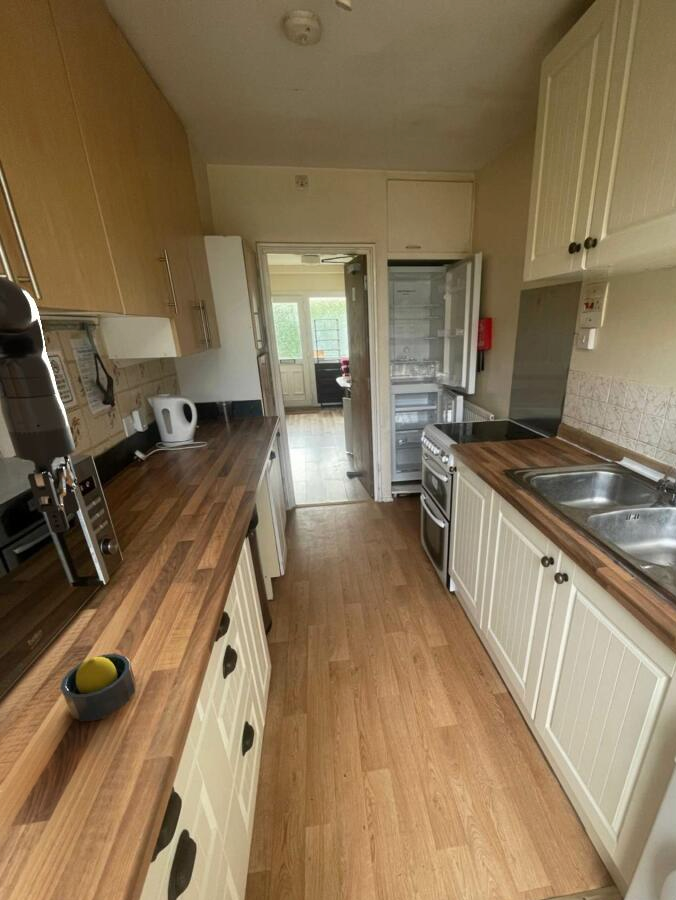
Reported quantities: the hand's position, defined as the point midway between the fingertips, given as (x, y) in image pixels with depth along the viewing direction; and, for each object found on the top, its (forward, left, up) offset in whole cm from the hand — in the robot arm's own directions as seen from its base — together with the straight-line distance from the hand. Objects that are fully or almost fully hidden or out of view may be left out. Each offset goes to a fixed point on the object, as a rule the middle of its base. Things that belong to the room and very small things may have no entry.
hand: (67, 520), depth 72 cm
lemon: (+7, -13, -27) cm, 30 cm away
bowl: (+7, -13, -27) cm, 30 cm away
